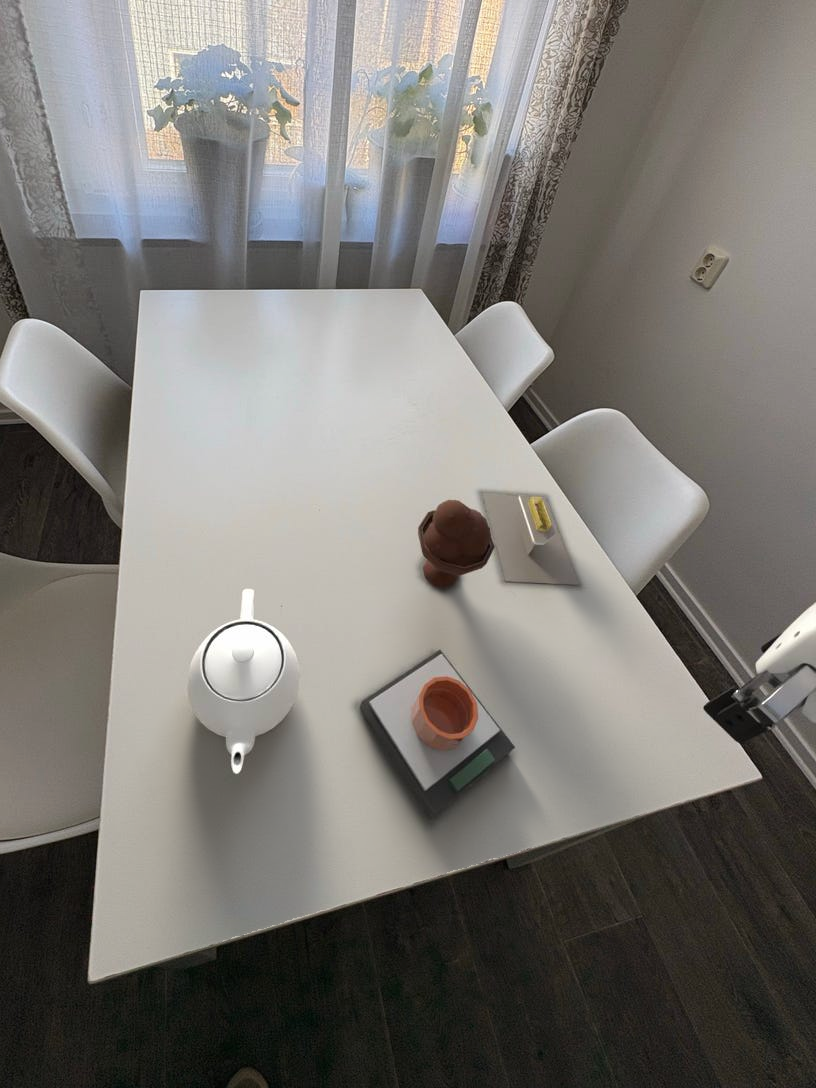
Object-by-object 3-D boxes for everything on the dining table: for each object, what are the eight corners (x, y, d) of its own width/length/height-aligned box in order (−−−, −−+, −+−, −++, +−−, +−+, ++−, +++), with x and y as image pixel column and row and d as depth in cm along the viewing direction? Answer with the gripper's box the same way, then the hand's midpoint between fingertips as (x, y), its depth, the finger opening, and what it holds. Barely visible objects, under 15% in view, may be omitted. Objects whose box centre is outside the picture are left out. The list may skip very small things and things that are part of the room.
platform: (546, 497, 97) (560, 473, 92) (578, 584, 84) (597, 561, 79) (482, 493, 96) (493, 468, 91) (505, 581, 83) (519, 557, 78)
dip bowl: (477, 731, 64) (490, 716, 60) (434, 765, 61) (445, 751, 57) (441, 681, 68) (451, 665, 64) (399, 711, 65) (407, 695, 61)
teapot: (199, 613, 74) (193, 571, 67) (297, 612, 76) (301, 571, 68) (176, 797, 59) (163, 770, 51) (299, 791, 60) (305, 764, 53)
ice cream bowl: (413, 605, 78) (437, 547, 68) (401, 542, 86) (421, 482, 76) (482, 604, 80) (516, 547, 69) (464, 542, 87) (492, 483, 77)
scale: (508, 753, 65) (517, 745, 63) (429, 820, 60) (435, 813, 57) (435, 656, 73) (441, 646, 71) (359, 707, 67) (362, 698, 65)
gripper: (964, 719, 26) (743, 800, 38) (1046, 572, 34) (841, 677, 46) (808, 600, 31) (653, 706, 43) (913, 492, 38) (756, 608, 50)
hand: (751, 691), depth 44 cm, fingers open, 9 cm apart
